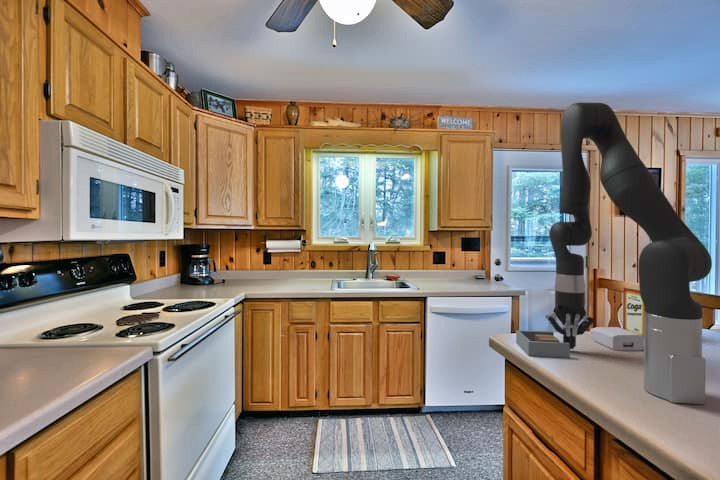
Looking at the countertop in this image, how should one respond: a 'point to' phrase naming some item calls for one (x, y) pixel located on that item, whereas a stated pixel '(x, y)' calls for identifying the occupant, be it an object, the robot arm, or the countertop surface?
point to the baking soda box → (633, 311)
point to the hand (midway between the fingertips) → (569, 348)
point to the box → (541, 345)
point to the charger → (618, 338)
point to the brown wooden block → (545, 338)
